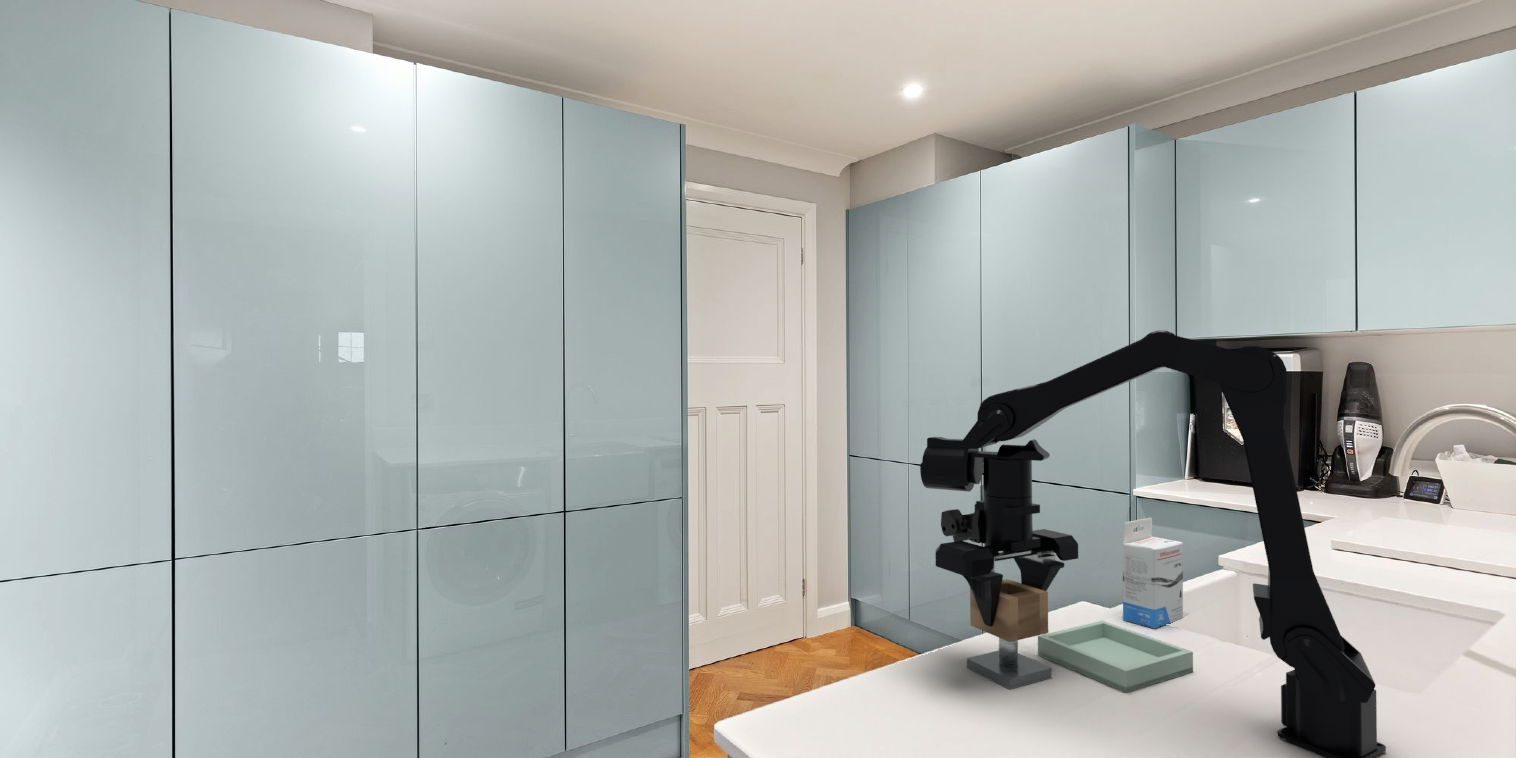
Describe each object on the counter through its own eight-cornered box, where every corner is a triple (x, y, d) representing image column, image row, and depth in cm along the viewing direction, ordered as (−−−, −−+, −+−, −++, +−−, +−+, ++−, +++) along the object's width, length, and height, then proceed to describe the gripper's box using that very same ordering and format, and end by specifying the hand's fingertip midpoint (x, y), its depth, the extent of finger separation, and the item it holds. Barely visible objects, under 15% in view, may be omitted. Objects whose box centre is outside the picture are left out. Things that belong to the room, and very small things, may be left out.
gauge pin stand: (1051, 677, 85) (1051, 620, 85) (1009, 689, 81) (1009, 630, 81) (1007, 657, 91) (1007, 604, 91) (966, 667, 88) (966, 612, 88)
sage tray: (1193, 671, 86) (1192, 651, 86) (1126, 692, 80) (1125, 671, 80) (1102, 638, 97) (1102, 620, 97) (1037, 654, 92) (1037, 635, 92)
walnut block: (1048, 632, 85) (1047, 591, 85) (1009, 642, 82) (1009, 599, 82) (1007, 617, 90) (1007, 578, 90) (970, 625, 88) (970, 585, 88)
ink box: (1155, 630, 100) (1154, 528, 100) (1121, 620, 105) (1120, 522, 105) (1185, 618, 105) (1184, 521, 105) (1151, 609, 109) (1150, 516, 109)
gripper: (1012, 481, 98) (1013, 593, 97) (905, 491, 89) (907, 613, 89) (1080, 492, 88) (1082, 616, 87) (968, 505, 79) (969, 642, 79)
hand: (1008, 620), depth 86 cm, fingers closed on walnut block, 6 cm apart
